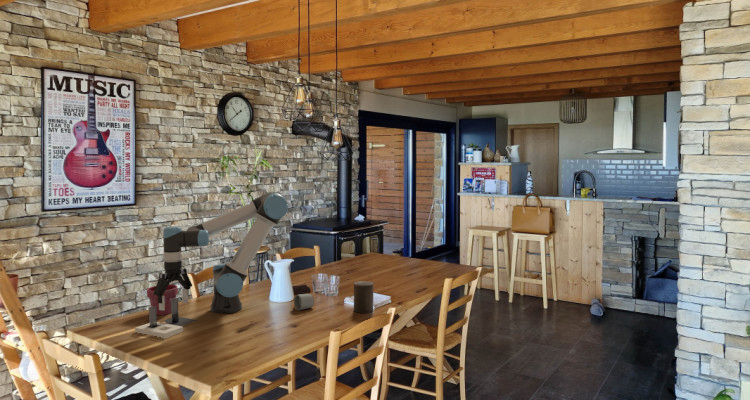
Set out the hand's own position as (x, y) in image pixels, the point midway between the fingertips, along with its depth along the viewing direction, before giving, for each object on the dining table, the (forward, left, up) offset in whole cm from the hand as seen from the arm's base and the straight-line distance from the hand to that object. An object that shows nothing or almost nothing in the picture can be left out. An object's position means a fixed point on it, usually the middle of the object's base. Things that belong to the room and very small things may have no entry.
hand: (173, 306), depth 242 cm
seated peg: (+13, +1, -8) cm, 15 cm away
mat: (0, 0, -8) cm, 8 cm away
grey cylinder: (-46, +40, -8) cm, 61 cm away
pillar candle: (-55, +69, -8) cm, 89 cm away
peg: (0, 0, -8) cm, 8 cm away
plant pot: (-9, -18, -8) cm, 22 cm away
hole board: (+13, +5, -8) cm, 16 cm away
